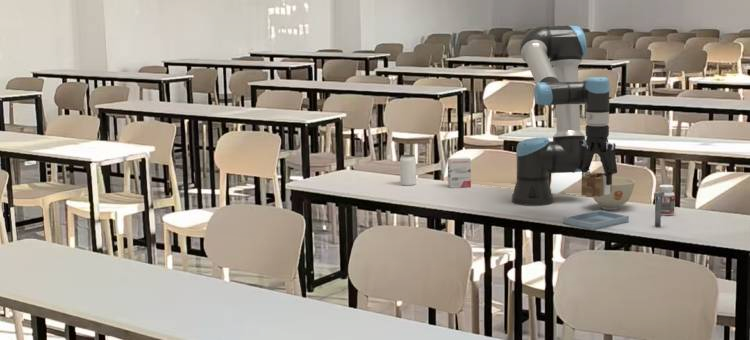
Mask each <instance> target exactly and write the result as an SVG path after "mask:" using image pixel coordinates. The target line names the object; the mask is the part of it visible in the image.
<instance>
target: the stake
mask: <svg viewBox="0 0 750 340" xmlns="http://www.w3.org/2000/svg"><path fill="white" fill-rule="evenodd" d="M661 196H664V192H660V191H657V192H654V193H653V197H654V198H655V200H654V201H655V205H654V207H655V208H654V209H655V210H654V227H655V226H656V227H655V228H661V221H662V220H661V219H662V217H661V216H662V215H661Z"/></svg>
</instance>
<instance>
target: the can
mask: <svg viewBox="0 0 750 340" xmlns="http://www.w3.org/2000/svg"><path fill="white" fill-rule="evenodd" d="M416 162H417V161H416V156H415V154H402V155H400V158H399V180H400V181H399V182H400V183H399V184H400V185H401V186H404V187H410V186H411V187H413V186H415V185H416V184H417V165H416Z"/></svg>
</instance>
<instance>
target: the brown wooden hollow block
mask: <svg viewBox="0 0 750 340" xmlns="http://www.w3.org/2000/svg"><path fill="white" fill-rule="evenodd" d="M604 174H605V172H595V171H594V172H591V174H588V175H586V176H584V177H582V176H581V196H585V198H593V196H597V197H601V196H603V175H604ZM610 192H612V184H611V185H610Z"/></svg>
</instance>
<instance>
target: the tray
mask: <svg viewBox="0 0 750 340" xmlns="http://www.w3.org/2000/svg"><path fill="white" fill-rule="evenodd" d="M562 222H563V223H562V224H564V225H566V226H567V225H568V226H571V227H572V226H573V227H577V228H580V229H585V230H590V231H595V230H599V229H603V228H608V227H613V226H616V225H621V224H626V223H629V222H630V215H625V214H621V213H615V212H611V211H605V210H601V209H600V210H599V209H598V210H593V211H588V212H585V213H579V214H574V215H570V216H566V217H565V216H564V217H563V221H562Z"/></svg>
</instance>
